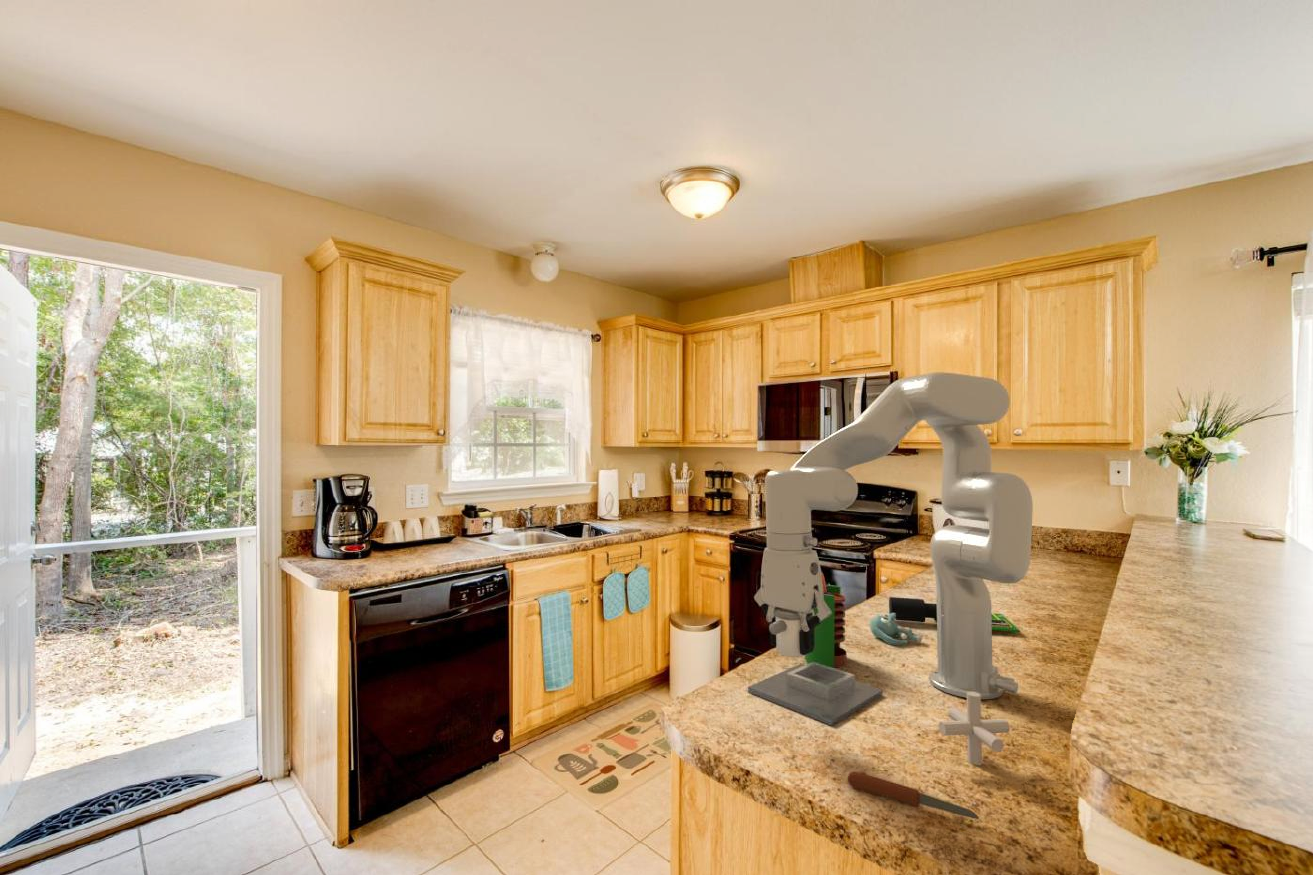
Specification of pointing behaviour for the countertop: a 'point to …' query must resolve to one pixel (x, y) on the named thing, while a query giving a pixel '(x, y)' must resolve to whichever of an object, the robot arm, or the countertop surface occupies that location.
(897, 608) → the electronic board model
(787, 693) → the mount plate
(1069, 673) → the countertop surface
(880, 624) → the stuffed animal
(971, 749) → the pipe connector
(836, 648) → the motor
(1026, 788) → the countertop surface
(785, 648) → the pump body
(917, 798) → the kitchen knife
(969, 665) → the robot arm
